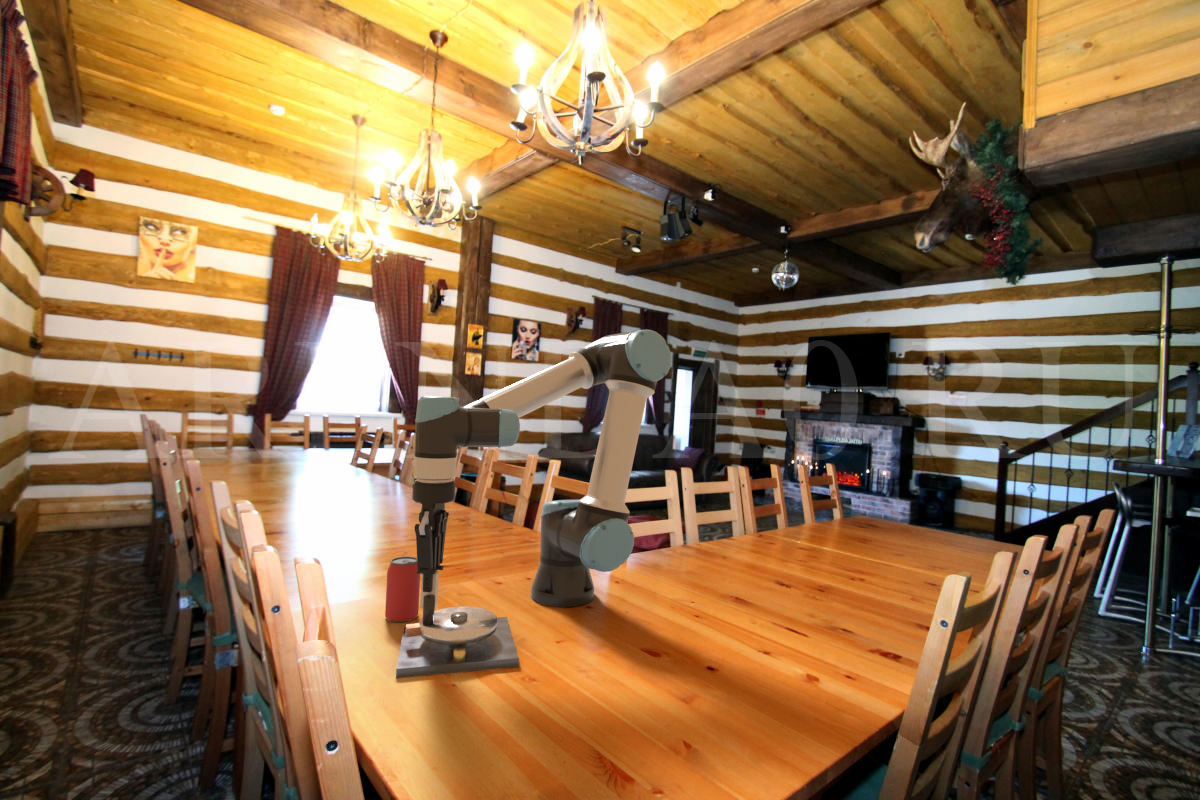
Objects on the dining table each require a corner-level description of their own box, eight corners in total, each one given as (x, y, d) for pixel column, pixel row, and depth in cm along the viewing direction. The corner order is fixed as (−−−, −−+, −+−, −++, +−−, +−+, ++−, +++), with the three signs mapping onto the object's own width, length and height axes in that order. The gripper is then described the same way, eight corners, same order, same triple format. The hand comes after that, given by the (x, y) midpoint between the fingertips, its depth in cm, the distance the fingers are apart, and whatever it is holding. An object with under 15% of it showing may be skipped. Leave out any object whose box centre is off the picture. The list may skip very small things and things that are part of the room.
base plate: (506, 624, 112) (507, 607, 112) (518, 666, 94) (519, 646, 94) (404, 631, 107) (405, 613, 107) (395, 678, 88) (396, 656, 88)
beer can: (407, 625, 110) (410, 565, 110) (378, 621, 111) (381, 562, 111) (424, 613, 116) (426, 557, 116) (396, 610, 117) (399, 554, 118)
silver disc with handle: (487, 610, 110) (489, 578, 110) (505, 638, 97) (506, 601, 97) (402, 620, 103) (404, 586, 103) (409, 651, 90) (411, 612, 90)
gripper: (425, 474, 106) (419, 594, 106) (401, 483, 93) (395, 620, 93) (463, 475, 106) (458, 595, 106) (444, 485, 93) (438, 622, 93)
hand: (428, 607), depth 100 cm, fingers closed
